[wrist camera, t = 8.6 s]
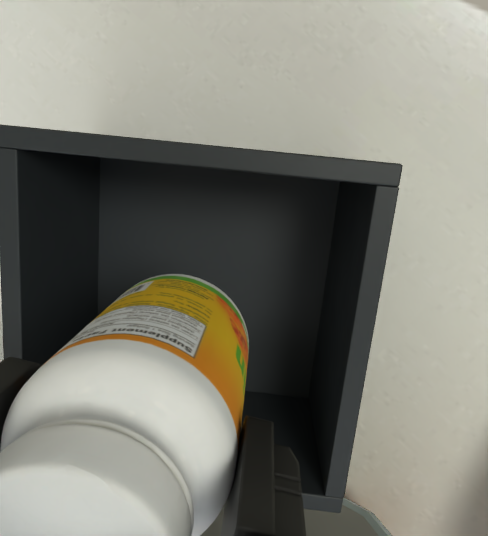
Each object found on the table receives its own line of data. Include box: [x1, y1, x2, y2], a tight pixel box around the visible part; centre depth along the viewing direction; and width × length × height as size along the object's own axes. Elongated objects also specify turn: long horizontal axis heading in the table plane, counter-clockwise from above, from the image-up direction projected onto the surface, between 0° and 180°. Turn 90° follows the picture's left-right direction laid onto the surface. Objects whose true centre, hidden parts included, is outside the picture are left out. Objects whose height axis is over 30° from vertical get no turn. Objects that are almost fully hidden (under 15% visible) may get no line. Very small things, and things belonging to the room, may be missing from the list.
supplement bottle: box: [0, 274, 249, 536], centre depth 12 cm, size 5×5×10 cm
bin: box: [0, 125, 402, 513], centre depth 21 cm, size 15×15×9 cm
